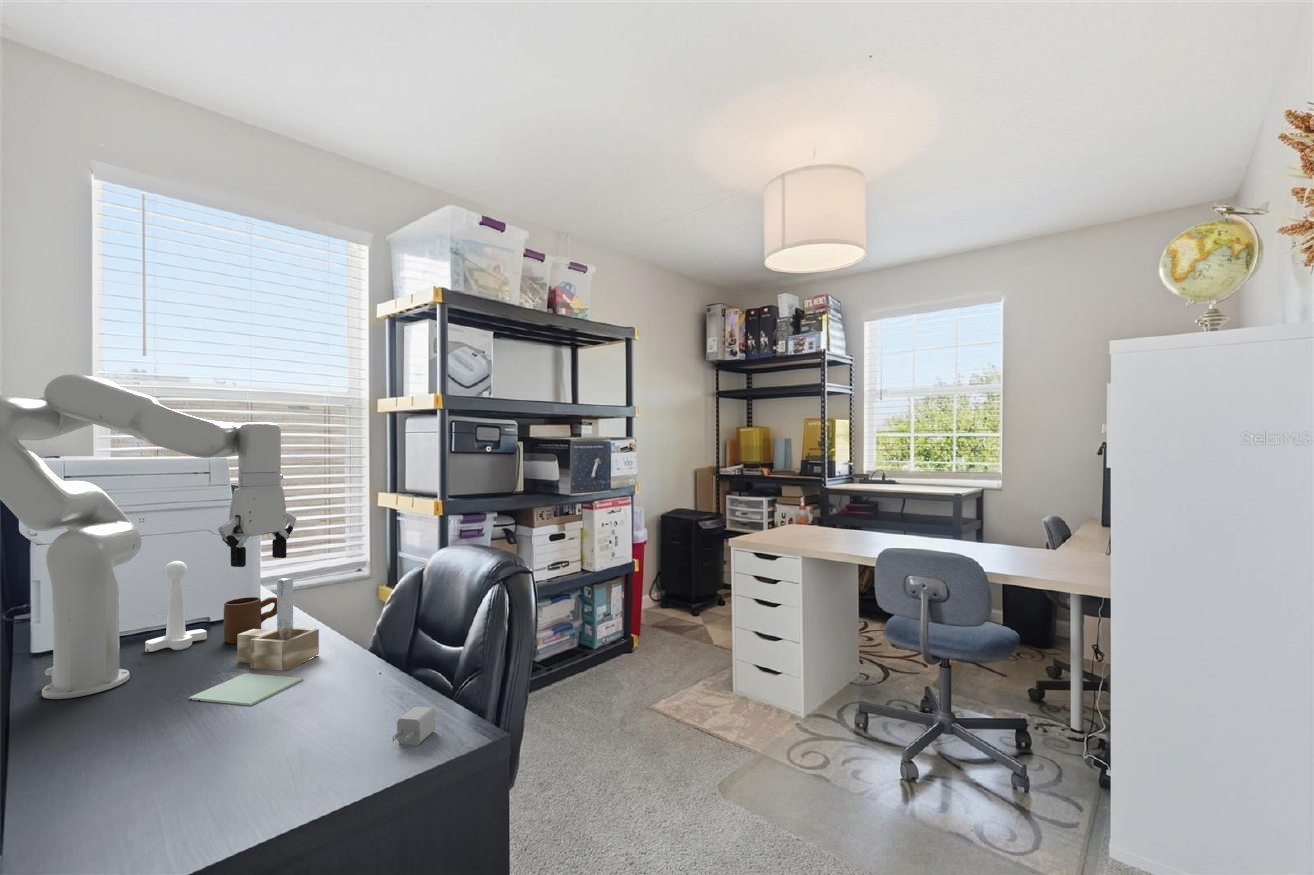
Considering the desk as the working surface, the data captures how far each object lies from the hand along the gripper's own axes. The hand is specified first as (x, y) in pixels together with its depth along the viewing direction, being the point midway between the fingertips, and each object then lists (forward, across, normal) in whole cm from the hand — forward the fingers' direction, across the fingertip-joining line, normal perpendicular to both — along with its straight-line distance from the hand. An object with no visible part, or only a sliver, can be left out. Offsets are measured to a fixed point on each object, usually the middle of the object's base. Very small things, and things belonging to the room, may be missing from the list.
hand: (259, 562), depth 127 cm
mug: (+23, -17, -21) cm, 35 cm away
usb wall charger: (+23, +19, +52) cm, 60 cm away
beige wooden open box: (+23, -5, -1) cm, 23 cm away
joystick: (+23, -8, -32) cm, 41 cm away
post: (+23, -5, +2) cm, 23 cm away
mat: (+23, +9, +7) cm, 25 cm away
